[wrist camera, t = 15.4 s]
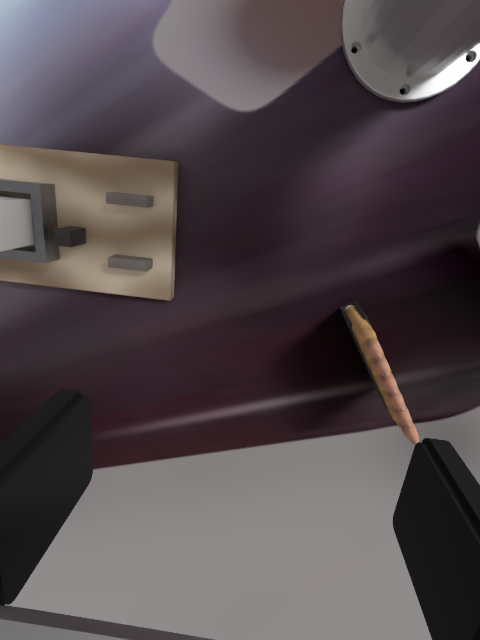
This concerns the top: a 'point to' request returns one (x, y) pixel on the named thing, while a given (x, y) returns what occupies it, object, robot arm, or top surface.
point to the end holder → (36, 221)
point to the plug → (15, 222)
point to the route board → (101, 221)
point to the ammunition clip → (378, 368)
